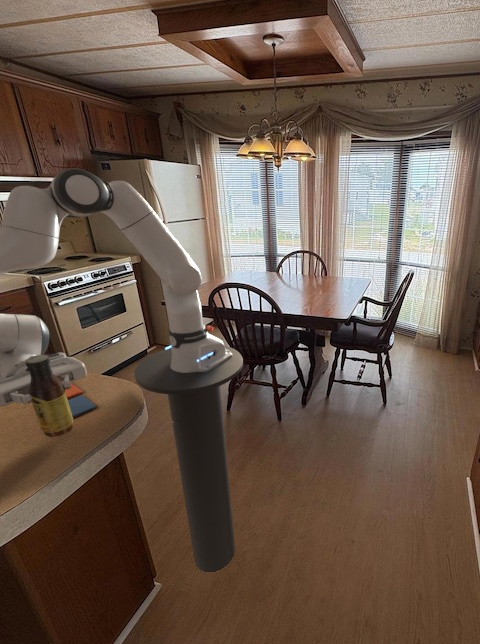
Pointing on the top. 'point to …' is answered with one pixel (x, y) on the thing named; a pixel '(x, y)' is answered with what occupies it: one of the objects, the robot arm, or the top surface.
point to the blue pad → (80, 405)
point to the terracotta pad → (73, 391)
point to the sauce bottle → (49, 398)
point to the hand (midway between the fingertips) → (48, 393)
